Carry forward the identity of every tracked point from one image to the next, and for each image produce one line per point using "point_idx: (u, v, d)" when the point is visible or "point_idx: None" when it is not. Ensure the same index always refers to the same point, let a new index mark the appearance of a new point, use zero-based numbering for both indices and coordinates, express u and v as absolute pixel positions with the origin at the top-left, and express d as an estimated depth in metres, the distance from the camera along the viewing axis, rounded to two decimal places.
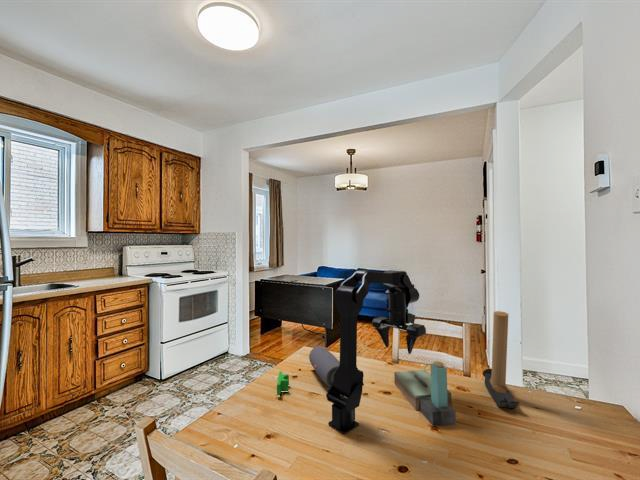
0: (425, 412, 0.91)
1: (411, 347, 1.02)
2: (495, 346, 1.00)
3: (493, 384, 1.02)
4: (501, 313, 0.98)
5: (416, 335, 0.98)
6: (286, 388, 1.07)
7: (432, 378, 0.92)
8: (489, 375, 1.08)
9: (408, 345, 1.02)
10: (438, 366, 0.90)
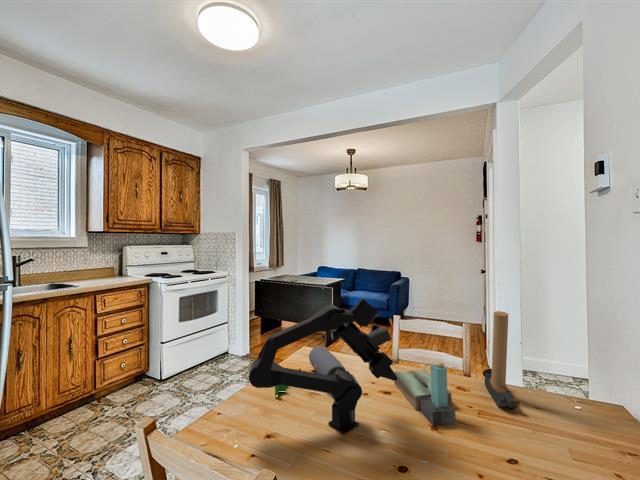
0: (425, 412, 0.91)
1: (391, 376, 0.85)
2: (495, 346, 1.00)
3: (493, 384, 1.02)
4: (501, 313, 0.98)
5: (377, 377, 0.80)
6: (284, 388, 1.07)
7: (432, 378, 0.92)
8: (489, 375, 1.08)
9: None
10: (438, 366, 0.90)
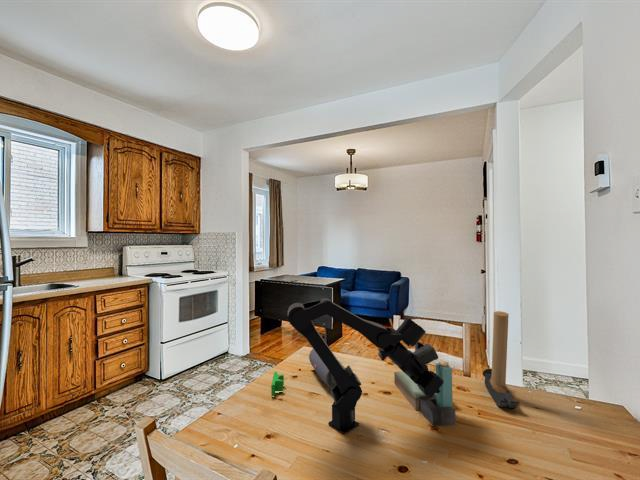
0: (425, 412, 0.91)
1: None
2: (495, 346, 1.00)
3: (493, 384, 1.02)
4: (501, 313, 0.98)
5: (429, 397, 0.81)
6: (281, 388, 1.07)
7: None
8: (489, 375, 1.08)
9: None
10: (443, 366, 0.90)
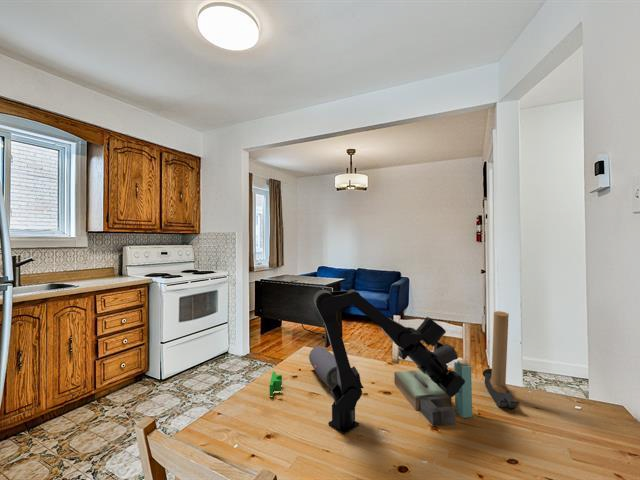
0: (425, 412, 0.91)
1: None
2: (495, 346, 1.00)
3: (493, 384, 1.02)
4: (501, 313, 0.98)
5: (450, 396, 0.82)
6: (279, 388, 1.07)
7: None
8: (489, 375, 1.08)
9: None
10: (462, 364, 0.91)
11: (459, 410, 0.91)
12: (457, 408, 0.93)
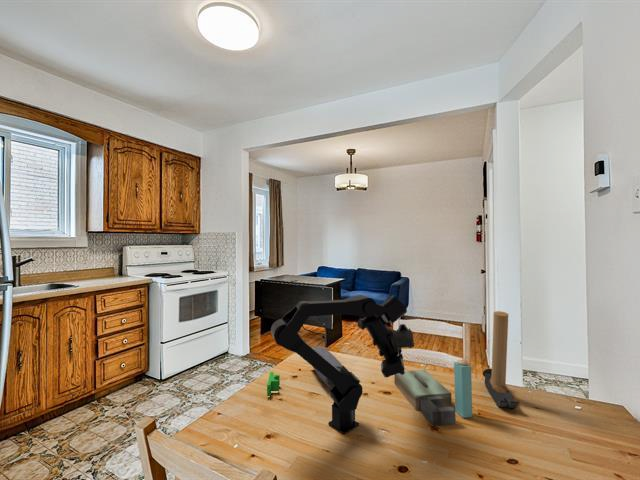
0: (425, 412, 0.91)
1: None
2: (495, 346, 1.00)
3: (493, 384, 1.02)
4: (501, 313, 0.98)
5: (384, 376, 0.84)
6: (276, 388, 1.07)
7: (456, 376, 0.93)
8: (489, 375, 1.08)
9: None
10: (462, 364, 0.91)
11: (459, 410, 0.91)
12: (457, 408, 0.93)
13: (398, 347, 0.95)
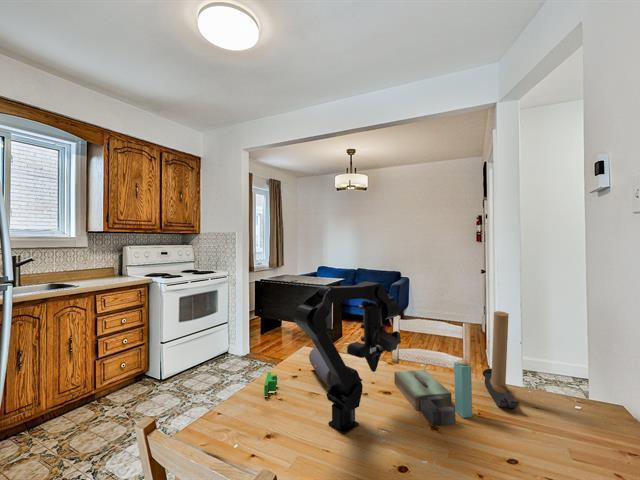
0: (425, 412, 0.91)
1: (370, 364, 0.95)
2: (495, 346, 1.00)
3: (493, 384, 1.02)
4: (501, 313, 0.98)
5: (347, 351, 0.92)
6: (274, 389, 1.07)
7: (456, 376, 0.93)
8: (489, 375, 1.08)
9: None
10: (462, 364, 0.91)
11: (459, 410, 0.91)
12: (457, 408, 0.93)
13: (384, 348, 0.96)
